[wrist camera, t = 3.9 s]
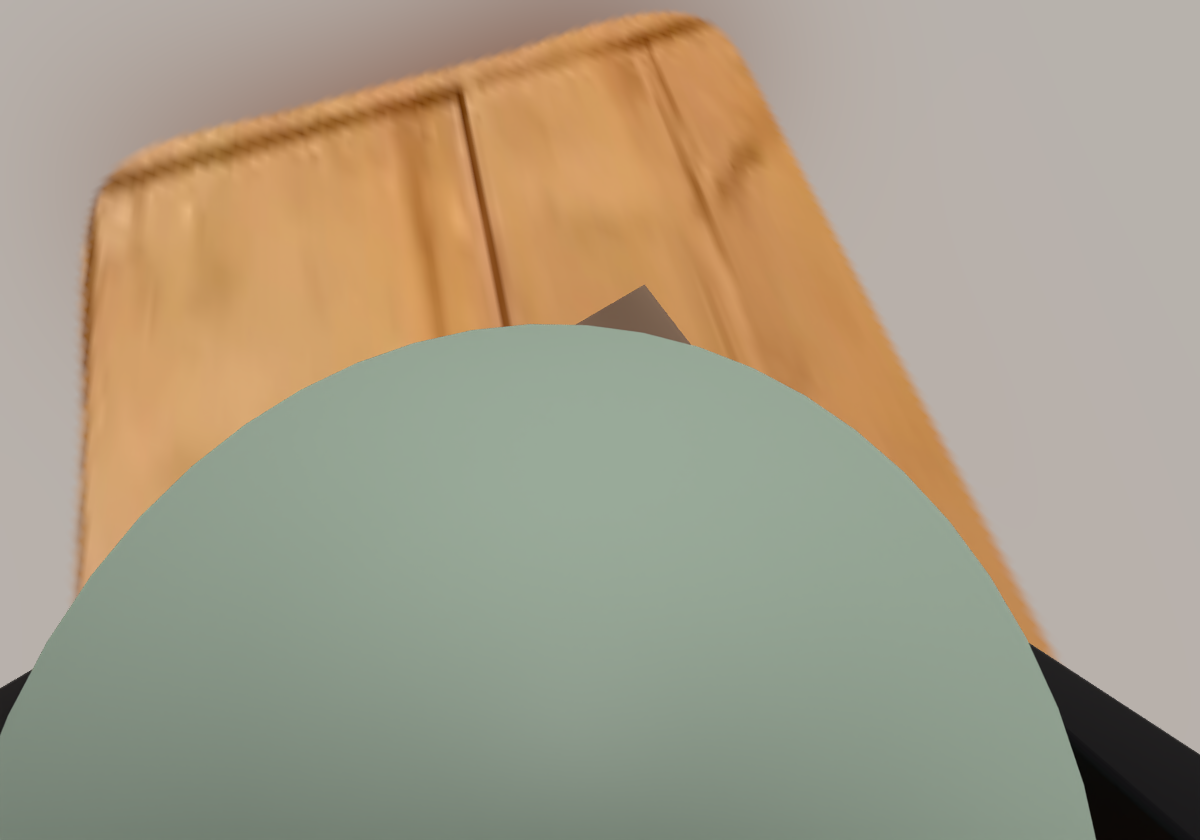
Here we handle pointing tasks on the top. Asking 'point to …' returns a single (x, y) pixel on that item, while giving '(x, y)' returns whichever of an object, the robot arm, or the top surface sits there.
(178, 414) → the top surface
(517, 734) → the peg
